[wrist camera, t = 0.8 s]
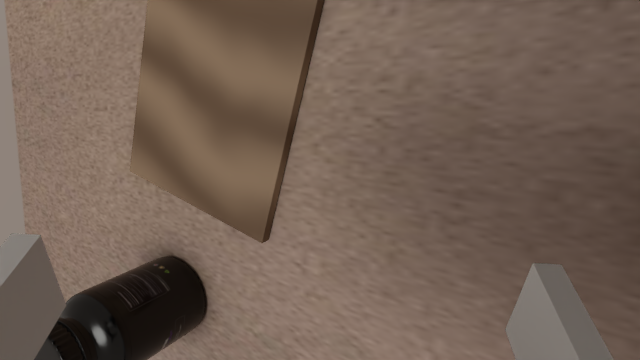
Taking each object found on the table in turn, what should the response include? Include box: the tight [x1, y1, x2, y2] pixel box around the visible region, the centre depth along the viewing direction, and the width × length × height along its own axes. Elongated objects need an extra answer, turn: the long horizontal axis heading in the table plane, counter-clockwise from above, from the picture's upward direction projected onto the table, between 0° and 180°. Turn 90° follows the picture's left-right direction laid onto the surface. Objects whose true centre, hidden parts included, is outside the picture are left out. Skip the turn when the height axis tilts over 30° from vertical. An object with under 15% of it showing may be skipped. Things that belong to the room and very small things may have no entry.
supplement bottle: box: [34, 257, 205, 360], centre depth 36 cm, size 7×7×12 cm
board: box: [130, 0, 324, 243], centre depth 34 cm, size 18×14×1 cm
